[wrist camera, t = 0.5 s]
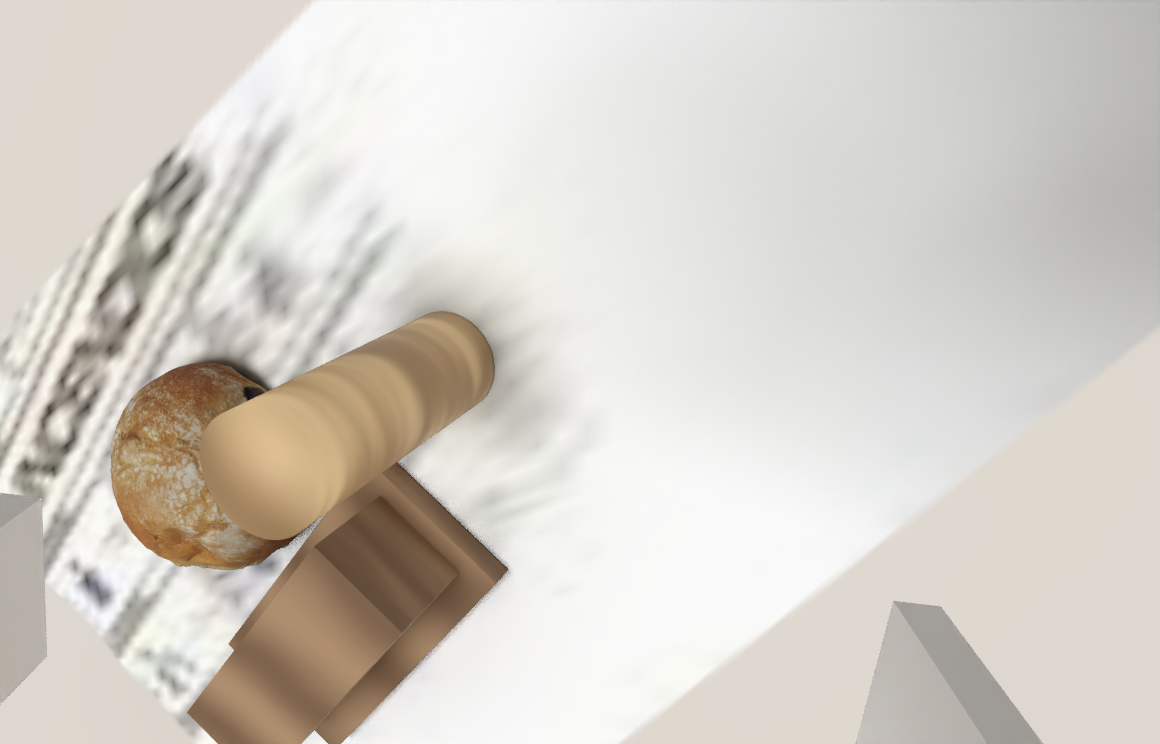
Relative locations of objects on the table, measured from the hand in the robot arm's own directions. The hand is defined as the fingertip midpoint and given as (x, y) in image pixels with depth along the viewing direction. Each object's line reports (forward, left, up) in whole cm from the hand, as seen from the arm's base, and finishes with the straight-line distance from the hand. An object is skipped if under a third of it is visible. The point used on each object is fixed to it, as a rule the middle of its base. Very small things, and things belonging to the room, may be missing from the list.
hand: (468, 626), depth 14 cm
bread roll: (+24, -13, -22) cm, 35 cm away
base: (+25, -3, -21) cm, 33 cm away
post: (+11, -7, -21) cm, 25 cm away
